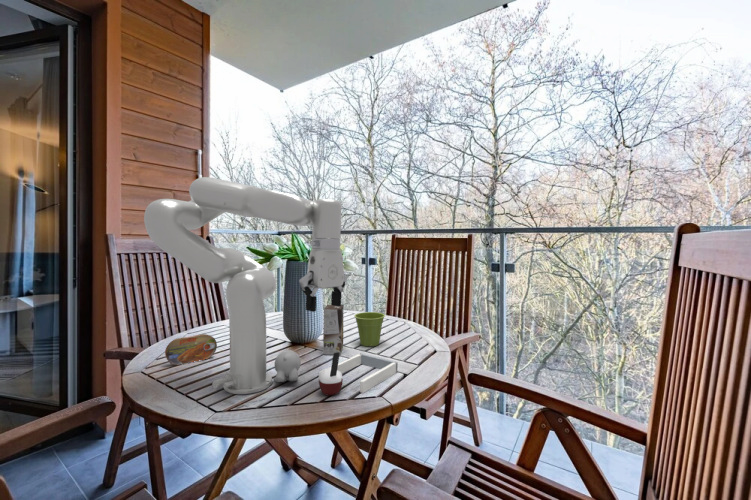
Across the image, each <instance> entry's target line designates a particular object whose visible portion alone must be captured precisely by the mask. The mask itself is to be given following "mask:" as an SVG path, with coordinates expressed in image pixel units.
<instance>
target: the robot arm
mask: <svg viewBox="0 0 751 500" xmlns="http://www.w3.org/2000/svg"><path fill="white" fill-rule="evenodd" d="M188 192H189V196H190V200H189V201H185V200H179V199H174V198H173V199H172V198H160V199H159V198H158V199H155V200H154V201H151V202H150V203H149V204H148V205H147V207H146V208H145V211H144V216H143V222H144V227H145V230H146V233H147V235H148V236H149V238H150V240H151V241H153V243H154V244H155V245H156V246H157V247H158V248H159V249H161V250H162V251H164V252H165V253H167V254H168V255H170V256H171V257H173V258H174V259H176V260H177V261H178V262H179V263H181V264H183V265H184V266H185V267H186V268H188V269H189V270H191V271H192V272H194V273H195V274H197V275H198V276H200V277H201V278H203V279H204V280H206V281H207V282H208V283H212V284H218V283H219V284H220V283H224V282H228V283H227V284H226V289H225V296H226V304H227V308H228V319H229V321H228V322H229V324H228V325H229V370H228V371H226V372H225V375H224V376H223V378H219V379H216V380H213V382H212V385H211V386H212V387H213V389H218V388H219V389H220V387H223V389H224V391H225V392H227V393H229V394H233V395H248V394H254V393H257V392H261V391H263V390H266V389H268V387H270V386H271V385H272V384H273V377H272V376H271V375H270V374H269V373H267V316H266V315H267V314H266V309H265V304H264V301H265V300H266V299H268V298H270V297H271V296H272V295H273V294H274V293H275V291H276V288H277V280H276V277H275V276H274V274H273V273H272V271H270V270H269V269H268V268H267V267H265V266H264V265H262V264H260V263H259V262H257V261H256V260H254V259H253V258H252V257H250V256H248V254H246V253H244V252H242V251H240V250H238V249H236V248H232V247H224V248H221V247H217V246H215V245H213V244H212V243H210V242H209V241H207V240H205V239H204V238H203V237H202V236H200V235H198V234H197V233H194V232H192V231H194V230H197V229H199V228H202V227H203V226H205V225H206V224H208V223H211V221H213V220H215V219H216V218H218V217H220V216H221V215H223V214H225V213H227V214H232V215H237V216H242V217H246V218H258V219H262V220H267V221H272V222H277V223H281V224H286V225H292V226H299V227H306V226H312V233H311V235H312V236H311V237H312V238H311V241H310V242H309V243H310V246H311V250H310V252H309V257H308V263H307V273H306V274H305V275H304V276H302V277H300V279H299V280H298V282H299V285H300V288H301V291H302V292H303V294H304V296H305V310H306V311H308V312H312V313H314V312H316V311H317V296H316V293H317V292H318V291H319V289H321V290H323V289H332V291H331V301H330V305H333V306H338V307H340V306H341V305H342V293H343V292H344V288H345V286H346V283H347V279H348V275H347V274H346V273H345V272H344V269H345V267H344V259H343V253H342V252H343V251H342V250H341V230H342V229H341V228H342V227H341V226H342V204H341V202H340V201H339V200H338V199H332V198H319V199H315V200H310V199H306V198H303V197H302V196H299V195H296V194H291V193H286V192H282V191H277V190H272V189H266V188H260V187H257V186H255V185H250V184H246V183H245V184H243V183H239V182H235V181H229V180H225V179H219V178H214V177H209V176H205V177H204V176H202V177H199V178H197V179H194V180H193V181H192V183H191V184H190V185H189V191H188Z"/></svg>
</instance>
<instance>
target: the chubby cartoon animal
mask: <svg viewBox="0 0 751 500" xmlns="http://www.w3.org/2000/svg"><path fill="white" fill-rule="evenodd" d="M301 361H302V360H301V358H300V356H299V354H298V353H297V352H296V351H294V350H283V351H281V352H280V353H278V355H277V356H276V358H275V360H274V370H275V371H276V375H275V379H274V381H275V382H277V383H285V382H286V381H288V382H297V381H298V379H299V372H298V371H299V370H300V368H301V363H302V362H301Z"/></svg>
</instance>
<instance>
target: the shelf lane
mask: <svg viewBox="0 0 751 500" xmlns="http://www.w3.org/2000/svg"><path fill="white" fill-rule="evenodd" d="M360 365H364V366H369V367H372V368H375V369H379V370H377V371H376V372H374V373H372V374H369V375H368V376H366V377H364V378H363V379H361V380H360V381H359V392H360V393H362V394H365V392H367V391H369V390H371V389H372V388H374V387H376V386H377V385H378V384H381V383H382V382H383V381H385V380H387V379H388V378H390V377H391V376H393V375H394V374H397V373H398V365H399V364H398V362H397V361H394V360H389V359H386V358H381V357H377V356H373V355H369V354H365V353H359V354H356V355H354V356H352V357H350V358H347V359H345V360H343V361H341V362H338V368H337V371H340V372H341V373H342V374H344V373H346V372H348V371H350V370H352V369H354V368H356V367H358V366H360ZM329 368H331V366H330V367H329Z"/></svg>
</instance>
